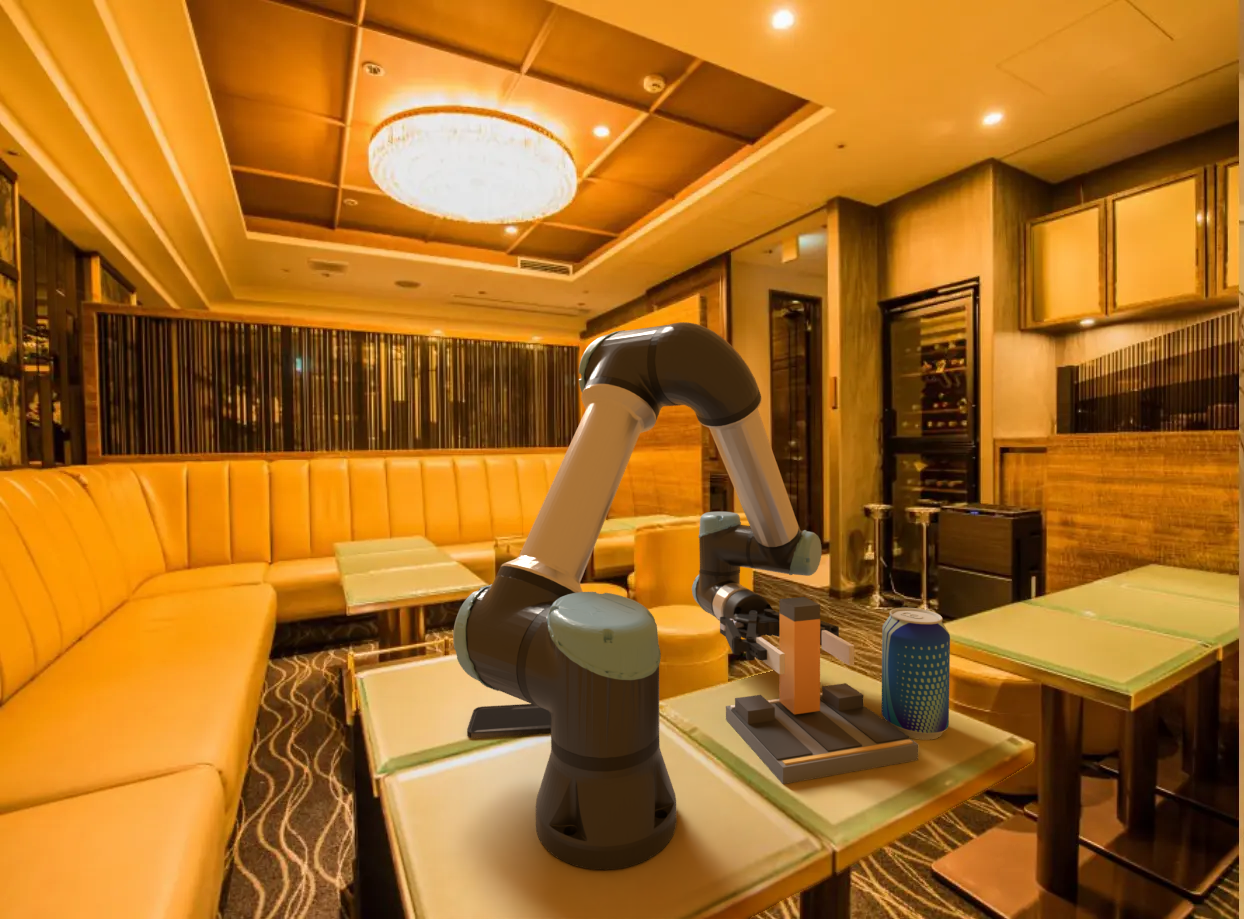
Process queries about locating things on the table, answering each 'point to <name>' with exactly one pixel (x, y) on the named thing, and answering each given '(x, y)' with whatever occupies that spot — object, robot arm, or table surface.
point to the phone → (509, 721)
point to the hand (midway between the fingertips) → (817, 659)
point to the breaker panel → (819, 735)
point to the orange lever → (800, 654)
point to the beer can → (916, 672)
